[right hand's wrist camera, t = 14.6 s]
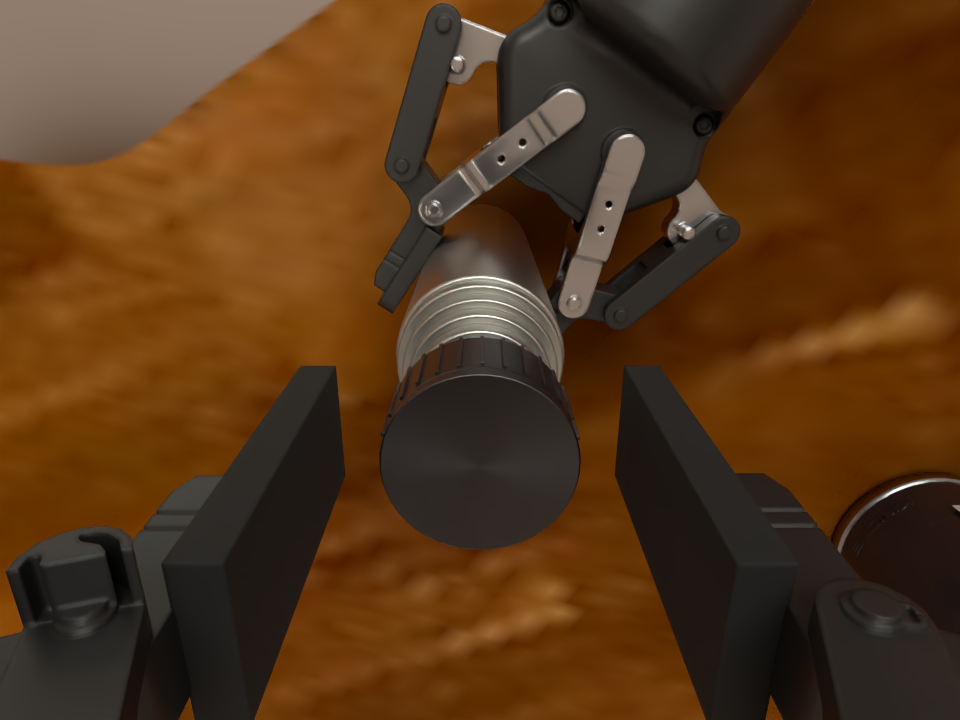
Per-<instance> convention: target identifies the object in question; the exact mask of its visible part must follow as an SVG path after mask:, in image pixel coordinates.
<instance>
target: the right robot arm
mask: <svg viewBox="0 0 960 720" xmlns="http://www.w3.org/2000/svg"><path fill="white" fill-rule="evenodd" d="M344 477H345V467H344V455H343V444H342V432H341V421H340V409H339V398H338V386H337V375H336V366H301V367H300V368H299V369H298V371H297V372H296V374H295V375H294V376H293V378H292V379H291V381H290V382H289V383H288V385H287V386H286V388H285V389H284V391H283V392H282V393H281V395H280V396H279V398H278V399H277V400H276V402H275V403H274V405H273V406H272V408H271V409H270V410H269V412H268V413H267V415H266V416H265V417H264V419H263V420H262V422H261V423H260V424H259V426H258V427H257V429H256V430H255V432H254V433H253V434H252V436H251V437H250V439H249V440H248V441H247V443H246V444H245V446H244V447H243V449H242V450H241V451H240V453H239V454H238V456H237V457H236V458H235V460H234V461H233V463H232V464H231V465H230V467H229V468H228V470H227V471H226V473H225V474H224V475H223V476H196V477H194V478H192V479H191V480H189V481H188V482H186V483H185V484H183V485H182V486H180V487H179V488H177V489H176V490H174V491H172V492H171V494H170V495H169V496H168V497H167V499H166V500H165V501H164V502H163V504H162V505H161V506H160V507H159V508H158V510H157V514H154V515H153V516H152V517H151V518H150V520H149V521H148V522H147V523H146V524H145V526H144V530H141V531H140V532H139V533H138V534H137V536H136V537H135V538H134V539H133V540H132V539H131V537H130V536H129V535H128V534H126V533H125V532H124V531H123V530H121V529H117V528H111V527H106V526H100V527H86V528H80V529H76V530H73V531H69V532H65V533H61V534H58V535H56V536H54V537H51V538H49V539H47V540H45V541H42V542H40V543H38V544H36V545H34V546H33V547H32V548H30V549H29V550H27V551H26V552H24V553H23V554H21V555H20V556H18V557H17V558H16V560H15V561H14V562H13V563H12V564H11V565H10V567H9V568H8V569H7V570H6V574H7V577H8V580H9V583H10V586H11V589H12V592H13V596H14V599H15V602H16V605H17V608H18V611H19V614H20V617H21V620H22V623H23V626H24V628H23V630H22V632H20V633H16V634H13V635H8V636H4V637H0V720H178V719H179V717H180V715H181V713H182V711H183V709H184V707H185V705H186V703H187V701H188V699H189V697H190V699H191V704H192V708H193V713H194V717H195V720H254V718H255V716H256V713H257V710H258V708H259V705H260V702H261V700H262V697H263V694H264V692H265V689H266V686H267V683H268V681H269V678H270V675H271V673H272V670H273V667H274V665H275V662H276V659H277V657H278V654H279V651H280V649H281V646H282V643H283V640H284V638H285V635H286V632H287V630H288V627H289V624H290V622H291V619H292V616H293V614H294V611H295V608H296V606H297V603H298V600H299V598H300V595H301V592H302V589H303V587H304V584H305V581H306V579H307V576H308V573H309V571H310V568H311V565H312V563H313V560H314V557H315V555H316V552H317V549H318V546H319V544H320V541H321V538H322V536H323V533H324V530H325V528H326V525H327V522H328V520H329V517H330V514H331V512H332V509H333V506H334V504H335V501H336V498H337V495H338V493H339V490H340V487H341V485H342V482H343V479H344ZM615 477H616V479H617V482H618V485H619V487H620V490H621V493H622V495H623V498H624V501H625V504H626V506H627V509H628V512H629V514H630V517H631V520H632V522H633V525H634V528H635V530H636V533H637V536H638V538H639V541H640V544H641V546H642V549H643V552H644V555H645V557H646V560H647V563H648V565H649V568H650V571H651V573H652V576H653V579H654V581H655V584H656V587H657V589H658V592H659V595H660V598H661V600H662V603H663V606H664V608H665V611H666V614H667V616H668V619H669V622H670V624H671V627H672V630H673V632H674V635H675V638H676V640H677V643H678V646H679V649H680V651H681V654H682V657H683V659H684V662H685V665H686V667H687V670H688V673H689V675H690V678H691V681H692V683H693V686H694V689H695V692H696V694H697V697H698V700H699V702H700V705H701V708H702V710H703V713H704V716H705V718H706V720H765V717H766V713H767V708H768V704H769V699H770V695H771V696H772V698H773V700H774V702H775V704H776V706H777V708H778V710H779V712H780V714H781V716H782V718H783V720H960V634H955V633H951V632H947V631H944V630H940V629H937V627H936V625H935V624H934V622H933V621H932V620H931V618H930V617H929V615H928V614H927V613H926V611H925V610H923V609H922V608H921V607H920V606H918V605H917V604H916V603H914V602H913V601H912V600H911V599H909V598H908V597H906V596H905V595H903V594H901V593H899V592H897V591H895V590H893V589H891V588H889V587H887V586H884V585H881V584H877V583H874V582H870V581H867V580H863V579H861V578H860V577H859V575H858V574H857V573H856V572H855V570H854V569H853V568H852V567H851V566H850V564H849V563H848V562H847V561H846V559H845V558H844V557H843V556H842V555H841V553H840V552H839V551H838V550H837V548H836V547H835V546H834V545H833V544H832V542H831V541H830V540H829V539H828V537H827V536H826V535H825V534H824V533H823V531H822V530H821V529H820V528H817V524H816V523H815V522H814V520H813V519H812V518H811V517H810V515H809V514H808V513H807V512H804V508H803V507H802V506H801V504H800V503H799V502H798V501H797V500H796V498H795V497H794V496H793V495H792V493H791V492H790V491H789V490H788V489H787V488H785V487H784V486H782V485H780V484H779V483H777V482H776V481H774V480H773V479H771V478H770V477H768V476H766V475H765V474H735V473H734V471H733V470H732V468H731V467H730V465H729V464H728V463H727V461H726V460H725V458H724V457H723V456H722V454H721V453H720V451H719V450H718V449H717V447H716V446H715V444H714V443H713V441H712V440H711V439H710V437H709V436H708V434H707V433H706V432H705V430H704V429H703V427H702V426H701V424H700V423H699V422H698V420H697V419H696V417H695V416H694V415H693V413H692V412H691V410H690V409H689V408H688V406H687V405H686V403H685V402H684V400H683V399H682V398H681V396H680V395H679V393H678V392H677V391H676V389H675V388H674V386H673V385H672V383H671V382H670V381H669V379H668V378H667V376H666V375H665V374H664V372H663V371H662V369H661V368H660V367H659V366H624V375H623V386H622V398H621V409H620V421H619V432H618V444H617V455H616V467H615Z"/></svg>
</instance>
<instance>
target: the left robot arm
mask: <svg viewBox="0 0 960 720" xmlns="http://www.w3.org/2000/svg"><path fill="white" fill-rule="evenodd" d="M814 1H815V0H545V2H544V4H543V5H542V7H541V8H540V10H539V11H538V12H537V13H536V14H535V15H534V16H533V17H532V18H531V19H529V20H528V21H527V22H525V23H523V24H522V25H520V26H518V27H516V28H514V29H513V30H512V31H510V32H509V33H508V34H507V35H504V34H502V33H499V32H496V31H494V30H491V29H489V28H486V27H484V26H481V25H479V24H476V23H474V22H471V21H469V20H466V19H464V18H461V17H460V14H459V13H458V11H457V10H456V9H455V8H454V7H453V6H451V5H449V4H445V3H441V4H437V5H435V6H433V7H432V8H431V9H430V10H429V12H428V14H427V16H426V20H425V23H424V27H423V30H422V34H421V37H420V40H419V44H418V47H417V51H416V54H415V58H414V61H413V65H412V68H411V72H410V75H409V79H408V82H407V86H406V89H405V93H404V96H403V100H402V103H401V107H400V110H399V114H398V117H397V121H396V124H395V128H394V131H393V135H392V138H391V142H390V145H389V149H388V152H387V156H386V159H385V170H386V172H387V174H388V176H389V177H390V178H391V179H392V180H394V181H396V183H397V184H398V185H399V187H400V188H401V189H402V191H403V192H404V193H405V195H406V196H407V198H408V200H409V202H410V206H411V213H410V217H409V219H408V221H407V223H406V224H405V226H404V227H403V229H402V231H401V232H400V234H399V235H398V237H397V239H396V240H395V242H394V243H393V245H392V247H391V248H390V250H389V251H388V253H387V255H386V256H385V258H384V259H383V261H382V263H381V264H380V266H379V267H378V269H377V271H376V275H375V281H374V285H375V286H377V287H378V288H380V289H381V290H383V291H384V293H383V294H382V296H381V298H380V300H379V302H378V303H377V304H378V305H379V306H381V307H383V308H384V309H386V310H388V311H389V312H391V313H393V312H394V310H395V309H396V308H397V306H398V304H399V303H400V301H401V300H402V298H403V297H404V295H405V294H406V292H407V291H408V289H409V288H410V286H411V284H412V283H413V281H414V280H415V278H416V277H417V275H418V274H419V272H420V271H421V269H422V267H423V266H424V264H425V262H426V260H427V259H428V257H429V256H430V255H431V253H432V252H433V251H434V249H435V247H436V246H437V244H438V243H439V241H440V240H441V238H442V236H443V233H444V230H445V227H444V226H443V225H444V224H445V222H446V221H448V220H449V219H450V218H452V217H453V216H454V215H456V214H457V213H458V212H459V211H461V210H462V209H463V208H465V207H466V206H467V205H469V204H470V203H471V202H472V201H474V200H475V199H476V198H478V197H479V196H481V195H482V194H484V193H486V192H487V191H489V190H490V189H492V188H493V187H494V186H496V185H497V184H498V183H499V182H501V181H502V180H503V179H505V178H506V177H507V176H509V175H512V176H513V177H514V178H516V179H517V180H519V181H520V182H522V183H523V184H524V185H526V186H527V187H530V188H532V189H535V190H538V191H541V192H544V193H547V194H548V195H550V197H551V198H552V199H553V200H554V202H555V203H556V204H557V205H558V206H559V208H560V209H561V210H562V211H563V212H564V213H566V214H567V215H569V216H570V221H569V224H568V227H567V230H566V234H565V240H564V247H563V251H562V254H561V257H560V260H559V264H558V267H557V270H556V273H555V277H554V280H553V283H552V286H551V287H550V289H549V290H548V292H547V295H548V297H549V300H550V303H551V305H552V308H553V311H554V313H555V316H556V319H557V322H558V324H559V327H560V330H561V333H562V335H563V333H564V332H565V331H566V329H567V328H568V327H569V326H570V325H571V324H572V323H573V322H575V321H577V320H580V319H591V320H596V321H600V322H604V323H607V324H608V325H609V326H610V327H611V328H613V329H616V330H623V329H626V328H628V327H629V326H631V325H632V324H633V323H634V322H636V321H637V320H638V319H639V318H641V317H642V316H643V315H645V314H646V313H647V312H648V311H650V310H651V309H652V308H653V307H655V306H656V305H657V304H658V303H660V302H661V301H662V300H664V299H665V298H666V297H667V296H669V295H670V294H671V293H672V292H674V291H675V290H676V289H677V288H679V287H680V286H681V285H683V284H684V283H685V282H686V281H688V280H689V279H690V278H691V277H693V276H694V275H695V274H696V273H698V272H699V271H700V270H702V269H703V268H704V267H705V266H707V265H708V264H709V263H710V262H712V261H713V260H714V259H715V258H717V257H718V256H719V255H720V254H722V253H723V252H724V251H726V250H727V249H728V248H729V247H731V246H732V245H733V244H734V243H735V242H736V241H737V239H738V237H739V234H740V226H739V224H738V222H737V221H736V220H735V219H734V218H732V217H730V216H728V215H727V214H725V213H722V212H721V211H720V210H719V209H718V208H717V206H716V205H715V203H714V202H713V201H712V199H711V198H710V197H709V195H708V194H707V193H706V191H705V190H704V189H703V187H702V186H701V185H700V183H699V182H698V181H697V179H696V178H697V176H698V174H699V172H700V168H701V162H702V157H703V154H704V151H705V148H706V146H707V143H708V141H709V140H710V138H711V137H712V135H713V134H714V133H715V131H716V130H717V129H718V128H719V126H720V125H721V124H722V123H723V122H724V120H725V119H726V118H727V116H728V115H729V114H730V112H731V111H732V110H733V108H734V107H735V106H736V104H737V103H738V102H739V100H740V99H741V98H742V96H743V95H744V94H745V92H746V91H747V90H748V88H749V87H750V86H751V84H752V83H753V82H754V80H755V79H756V78H757V76H758V75H759V74H760V72H761V71H762V70H763V68H764V67H765V66H766V65H767V63H768V62H769V61H770V59H771V58H772V57H773V55H774V54H775V53H776V51H777V50H778V49H779V47H780V46H781V45H782V43H783V42H784V41H785V39H786V38H787V37H788V36H789V34H790V33H791V32H792V30H793V29H794V28H795V26H796V25H797V24H798V22H799V21H800V20H801V18H802V17H803V16H804V14H805V13H806V12H807V10H808V9H809V8H810V6H811V5H812V4H813V2H814ZM486 63H494V64H497V105H498V134H497V135H496V136H494V137H493V138H492V139H491V140H489V141H488V142H487V143H486V144H484V145H483V146H482V147H481V148H479V149H478V150H477V151H475V152H474V153H473V154H472V155H470V156H469V157H468V158H467V159H466V160H465V161H463V162H462V163H461V164H460V165H459V166H457V167H456V168H455V169H453V170H452V171H451V172H450V173H448V174H447V175H446V176H445V177H443V178H442V179H441V180H440V179H439V178H438V176H437V175H436V174H435V172H434V171H433V170H432V168H431V167H430V165H429V164H428V163H427V161H426V160H425V159H426V156H427V153H428V150H429V146H430V143H431V140H432V137H433V133H434V130H435V127H436V123H437V120H438V117H439V114H440V110H441V107H442V104H443V101H444V97H445V94H446V91H447V88H448V84H449V83H450V84H453V85H458V86H459V85H464V84H466V83H468V82H469V81H470V80H471V79H472V77H473V75H474V73H475V71H476V70H477V69H478V68H479V67H480V66H481V65H483V64H486ZM500 155H501V156H500ZM671 197H672V200H673V205H672V209H671V211H670V212H669V214H668V215H667V216H666V217H665V218H664V220H663V222H662V225H661V231H662V234H663V237H662V238H660V239H659V240H658V241H657V242H655V243H654V244H653V245H652V246H651V247H649V248H648V249H647V250H646V251H645V252H643V253H642V254H641V255H640V256H638V257H637V258H636V259H635V260H634V261H632V262H631V263H630V264H629V265H627V266H626V267H625V268H624V269H623V270H621V271H620V272H619V273H618V274H616V275H615V276H614V277H613V278H612V279H610V280H609V281H608V282H607V283H605V284H601V283H597V281H598V278H599V275H600V272H601V269H602V267H603V265H604V264H605V263H606V261H607V260H608V258H609V255H610V252H611V249H612V246H613V243H614V240H615V237H616V234H617V231H618V228H619V225H620V222H621V219H622V216H623V215H624V214H626V213H629V212H632V211H635V210H638V209H640V208H643V207H646V206H649V205H651V204H654V203H657V202H660V201H662V200H665V199H668V198H671ZM601 226H602V228H601ZM832 544H833V545H834V546H835V547H836V548H837V550H838V551H839V552H840V553H841V555H842V556H843V557H844V558H845V559H846V561H847V562H848V563H849V564H850V566H851V567H852V568H853V569H854V570H855V572H856V573H857V574H858V575H859V577H860V578H861V579H863V580H867V581H870V582H874V583H877V584H881V585H884V586H887V587H889V588H891V589H893V590H895V591H897V592H899V593H901V594H903V595H905V596H906V597H908V598H909V599H911V600H912V601H913V602H914V603H916V604H917V605H918V606H920V607H921V608H922V609H923V610H925V611H926V613H927V614H928V615H929V617H930V618H931V620H932V621H933V622H934V624H935V625H936V627H937V629H940V630H944V631H947V632H951V633H955V634H960V476H957V475H953V474H949V473H942V472H924V473H916V474H911V475H907V476H903V477H900V478H897V479H894V480H892V481H889V482H887V483H885V484H883V485H881V486H879V487H877V488H875V489H874V490H872V491H871V492H869V493H868V494H867V495H865V496H864V497H863V498H861V499H860V500H859V501H858V502H857V503H856V504H855V505H854V506H853V507H852V508H851V509H850V510H849V511H848V512H847V514H846V515H845V516H844V518H843V519H842V521H841V522H840V524H839V526H838V528H837V530H836V532H835V535H834V538H833V541H832Z"/></svg>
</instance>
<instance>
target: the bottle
mask: <svg viewBox="0 0 960 720" xmlns="http://www.w3.org/2000/svg"><path fill="white" fill-rule="evenodd" d="M443 226H444V227H445V230H444V233H443V236H442V238H441V240H440V241H439V243H438V244H437V246H436V247H435V249H434V251H433V252H432V253H431V255H430V256H429V257H428V259H427V260H426V262H425V264H424V266H423V268H422V271H421V274H420V276H419V279H418V282H417V284H416V287H415V290H414V292H413V295H412V298H411V300H410V303H409V306H408V309H407V311H406V314H405V317H404V319H403V322H402V325H401V327H400V330H399V334H398V338H397V343H396V364H397V371H398V377H399V381H400V383H401V382H402V380H403V378H404V377H405V375H406V372H407V368H408V367H409V366H410V367H412V366H413V365H414V364H415V363H416V362H417V361H418V360H419V359H421V356H422V354H424V353H425V354H427V353H429V352H430V351H432V350H434V349H436V348H438V347H439V344H441V343H443V345H444V344H447V343H449V342H452V341H456V340H459V338H461V337H463V339H465V338H475V337H476V338H480V336H484V338H494V339H500V340H501V338H504V339H505V341H507V342H511V343H513V344H516V345H518V346H521V345H523V346H524V347H525V349H526V350H528V351H530V352H532V353H533V354H534V355H536V356H538V355H539V356H540V357H541V358H542V361H543V362H544V363H545V364H546V365H547V366H548V367H549V368H550V370H552V369H553V370H554V371H555V373H556V377H557V380H558V382H559V384H560V382H561V377H562V372H563V365H564V341H563V337H562V333H561V330H560V327H559V324H558V322H557V319H556V316H555V313H554V311H553V308H552V305H551V303H550V300H549V297H548V295H547V292H546V289H545V286H544V284H543V281H542V278H541V276H540V273H539V270H538V267H537V265H536V262H535V259H534V257H533V254H532V251H531V249H530V246H529V243H528V240H527V238H526V235H525V233H524V230H523V229H522V227H521V225H520V224H519V223H518V221H517V220H516V219H515V218H514V217H513V216H512V215H511V214H509V213H508V212H507V211H505V210H503V209H501V208H499V207H497V206H493V205H489V204H471V205H467V206H466V207H465V208H463V209H462V210H461V211H459V212H458V213H457V214H456V215H454V216H453V217H452V218H450V219H449V220H448V221H446V222H445V224H444V225H443Z"/></svg>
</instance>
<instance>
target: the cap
mask: <svg viewBox="0 0 960 720" xmlns="http://www.w3.org/2000/svg"><path fill="white" fill-rule="evenodd" d="M381 436H384V437H383V441H382V444H381V449H380V459H379V460H380V473H381V478H382V483H383V485H384V488H385V491H386V493H387V495H388V497H389V499H390V501H391V503H392V505H393V506H394V507H395V509H396V510H397V511H398V513H399V514H400V515H401V516H402V517H403V518H404V519H405V520H406V521H407V522H408V523H409V524H410V525H411V526H413V527H414V528H415V529H416V530H418V531H419V532H421V533H422V534H424V535H426V536H427V537H430V538H432V539H434V540H436V541H438V542H441V543H444V544H447V545H450V546H454V547H459V548H465V549H495V548H501V547H506V546H510V545H513V544H516V543H519V542H522V541H524V540H526V539H529V538H531V537H533V536H534V535H536V534H538V533H539V532H541V531H542V530H544V529H545V528H546V527H548V526H549V525H550V524H551V523H552V522H553V521H554V520H555V519H556V518H557V517H558V516H559V515H560V514H561V513H562V511H563V510H564V509H565V507H566V506H567V505H568V503H569V501H570V499H571V497H572V496H573V493H574V491H575V488H576V486H577V483H578V478H579V474H580V463H581V460H580V449H579V444H578V440H580V438H579V434H578V431H577V427H576V424H575V421H574V417H573V414H572V411H571V408H570V404H569V401H568V398H567V395H566V391H565V388H564V386H563V385H562V386H561V385H560V384H559V382H558V380H557V377H556V373H555V371H554V370H553V369H552V370H550V368H549V367H548V366H547V365H546V364H545V363H544V362H543V361H542V358H541V357H540V356H539V355H538V356H536V355H534V354H533V353H532V352H530V351H528V350H526V349H525V347H524V346H523V345H521V346H518V345H516V344H513V343H511V342H507V341H505V339H504V338H501V340H500V339H494V338H484V336H480V338H476V337H475V338H465V339H463V337H461V338H459V340H456V341H452V342H449V343H447V344H444V345H443V343H441V344H439V347H438V348H436V349H434V350H432V351H430V352H429V353H427V354H425V353H424V354H422V356H421V359H419V360H418V361H417V362H416V363H415V364H414V365H413V366H412V367H410V366H409V367H408V368H407V372H406V375H405V377H404V378H403V380H402V382H401V383H400V382H398V384H397V387H396V390H395V393H394V396H393V400H391V404H390V407H389V410H388V413H387V417H386V420H385V423H384V426H383V430H382V433H381Z"/></svg>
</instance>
